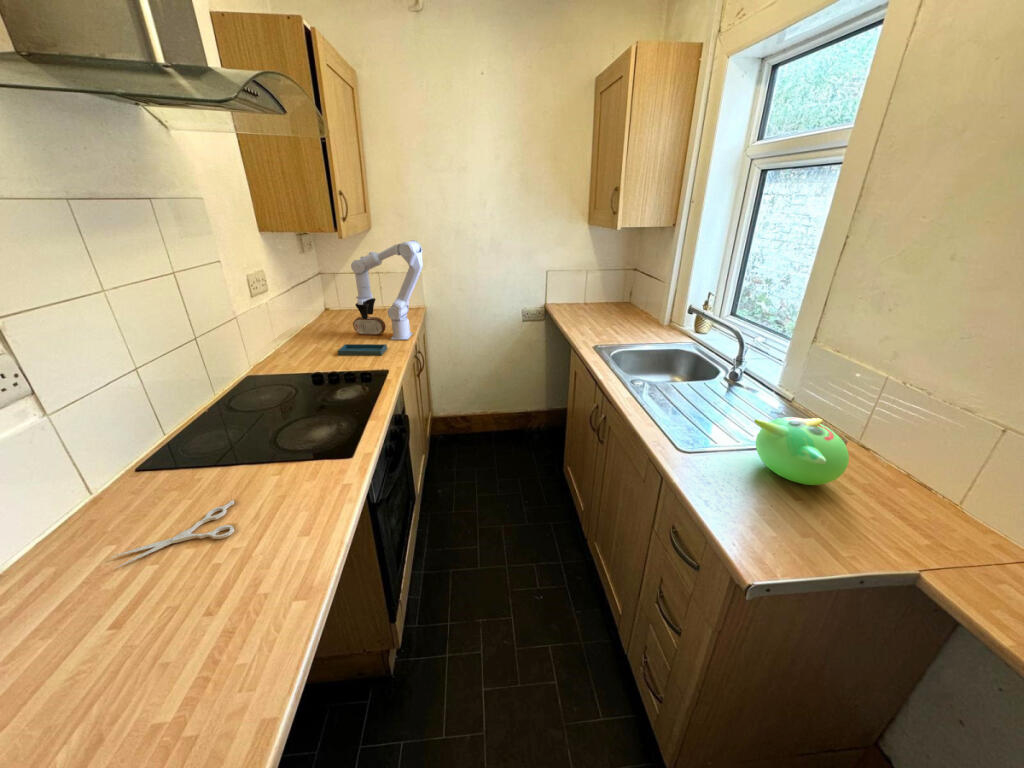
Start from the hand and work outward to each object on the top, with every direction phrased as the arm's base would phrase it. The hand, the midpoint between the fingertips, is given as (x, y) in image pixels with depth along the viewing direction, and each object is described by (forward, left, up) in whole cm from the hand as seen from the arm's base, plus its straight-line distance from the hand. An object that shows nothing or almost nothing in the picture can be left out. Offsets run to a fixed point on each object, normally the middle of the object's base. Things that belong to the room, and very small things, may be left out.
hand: (367, 316), depth 192 cm
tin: (-2, -1, -9) cm, 10 cm away
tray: (+22, +4, -9) cm, 25 cm away
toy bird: (+104, +135, -9) cm, 171 cm away
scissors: (+127, +5, -9) cm, 128 cm away
